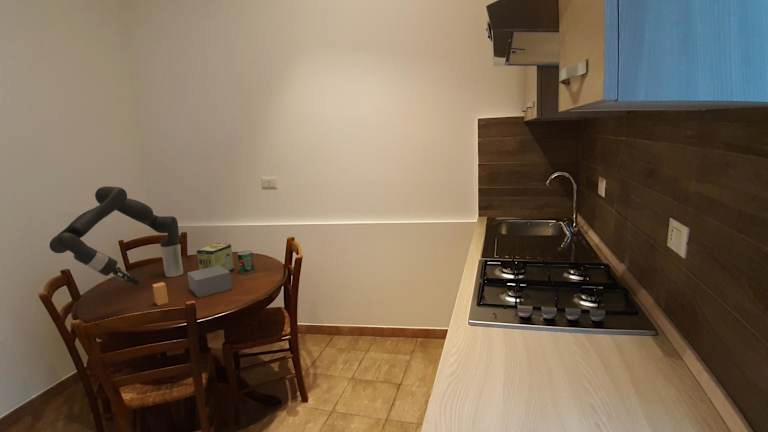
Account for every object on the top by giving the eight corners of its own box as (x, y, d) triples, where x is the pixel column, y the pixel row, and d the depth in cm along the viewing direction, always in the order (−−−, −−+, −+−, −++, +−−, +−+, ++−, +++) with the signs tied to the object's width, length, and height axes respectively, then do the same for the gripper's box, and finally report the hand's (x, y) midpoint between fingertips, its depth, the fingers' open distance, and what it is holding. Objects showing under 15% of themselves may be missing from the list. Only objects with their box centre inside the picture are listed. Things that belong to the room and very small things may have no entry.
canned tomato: (257, 269, 248) (255, 251, 245) (247, 274, 241) (245, 255, 238) (246, 268, 251) (244, 250, 249) (236, 272, 244) (234, 253, 242)
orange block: (155, 302, 206) (152, 284, 204) (165, 300, 209) (162, 282, 207) (158, 305, 203) (155, 286, 201) (168, 302, 206) (165, 284, 204)
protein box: (199, 277, 239) (196, 250, 236) (220, 268, 253) (216, 242, 250) (215, 279, 235) (211, 251, 232) (234, 270, 249) (231, 243, 246)
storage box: (189, 289, 222) (187, 272, 220) (221, 281, 232) (219, 265, 230) (199, 298, 210) (196, 280, 208) (232, 289, 219) (230, 272, 218)
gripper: (111, 259, 183) (145, 277, 193) (104, 252, 194) (137, 270, 204) (99, 274, 181) (134, 292, 191) (92, 267, 192) (126, 284, 201)
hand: (135, 281), depth 197 cm, fingers open, 8 cm apart
